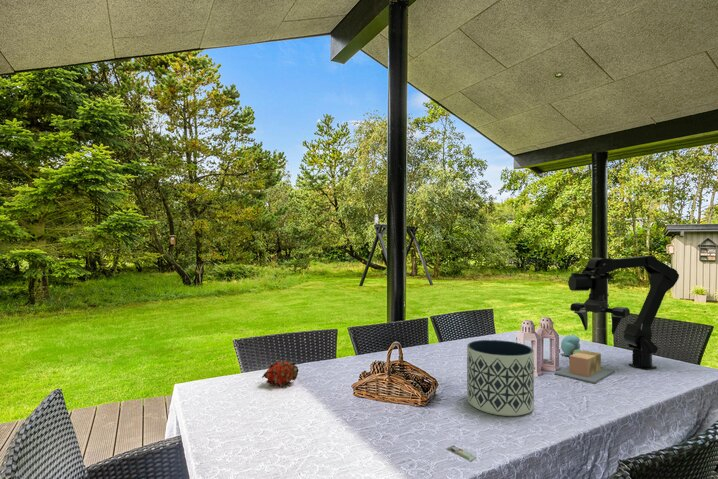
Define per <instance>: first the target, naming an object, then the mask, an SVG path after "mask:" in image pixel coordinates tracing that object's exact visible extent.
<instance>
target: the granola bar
mask: <svg viewBox="0 0 718 479" xmlns="http://www.w3.org/2000/svg"><path fill="white" fill-rule="evenodd" d="M446 450H447V451H450V452H452V453H453V454H456V455H458V456H460V457H462V458H464V459H465V460H467V461H469V462H472V461H474V460H475V459H476V458H477V456H475V455H473V454H472V453H470V452H468V451H466V450H465V449H462V448H460V447H458V446H456V445H451V446H448V447H447V448H446Z"/></svg>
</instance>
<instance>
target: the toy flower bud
mask: <svg viewBox="0 0 718 479" xmlns="http://www.w3.org/2000/svg"><path fill="white" fill-rule="evenodd" d="M580 342H581V341H580V338H579V336H578V335H575V334H567V335H566V336H564V337H563V339H562V340H561V343H560V349H561V351H562V352H563V354H565V356H567V357H570V355H573V354H575V353H578V352H580V351H582V350H581V344H580Z"/></svg>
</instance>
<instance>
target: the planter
mask: <svg viewBox="0 0 718 479" xmlns="http://www.w3.org/2000/svg"><path fill="white" fill-rule="evenodd" d="M466 347H467V348H466V382H467V383H466V384H467V385H466V394H467V395H466V400H467V402H468V403H469V404H470V405H471V406H472V407H473V408H475V409H477V410H479V411H481V412H483V413H487V414H490V415H495V416H501V417H503V416H504V417H518V416H519V417H520V416H523V415H526V414H529V413H531V412H532V411H533V410H534V409H535V372H534V371H535V367H534V366H535V364H534V361H535V359H534V358H535V357H534V355H535V354H534V353H535V352H534V349H533V348H532V347H531V346H529V345H526V344H523V343H519V342H515V341H509V340H501V339H500V340H498V339H481V340H474V341H471V342H468V343H467V345H466Z"/></svg>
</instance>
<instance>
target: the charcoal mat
mask: <svg viewBox="0 0 718 479" xmlns="http://www.w3.org/2000/svg"><path fill="white" fill-rule="evenodd" d="M614 373H616V369H612V368H607V367H603V366H601V370H600V371H598V372H596V373H595V374H593V375H591V376H589V377H586V376H581V375H577V374H573V373H570V365H568V366H566V367H564V368H562V369H559V370H558V371H556V372H554V375H556V376H560V377H564V378H569V379H572V380H577V381H581V382H585V383H589V384H593V385H595V384H598V382H600V381H601V382H602V380H604V379H606V378H608V377H609V376H611V375H612V374H614Z"/></svg>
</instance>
